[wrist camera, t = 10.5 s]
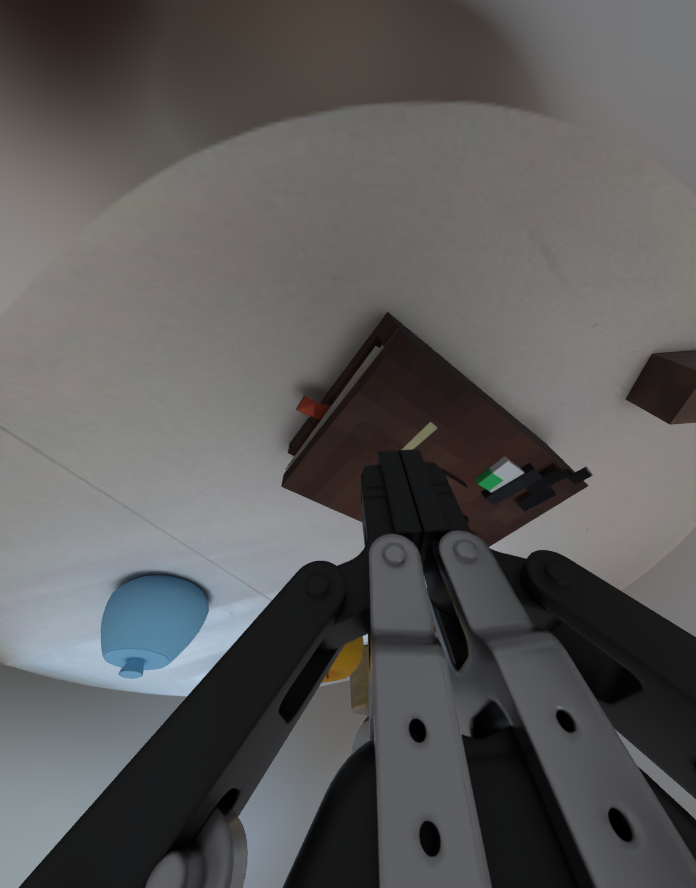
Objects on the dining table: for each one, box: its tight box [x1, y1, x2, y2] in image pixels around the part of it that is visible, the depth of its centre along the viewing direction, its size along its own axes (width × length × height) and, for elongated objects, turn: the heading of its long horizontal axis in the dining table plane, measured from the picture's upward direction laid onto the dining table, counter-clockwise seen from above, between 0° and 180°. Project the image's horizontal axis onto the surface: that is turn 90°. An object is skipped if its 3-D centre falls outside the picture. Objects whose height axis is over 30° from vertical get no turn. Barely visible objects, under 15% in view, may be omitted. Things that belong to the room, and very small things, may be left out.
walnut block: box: [626, 351, 696, 424], centre depth 27 cm, size 5×5×5 cm
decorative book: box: [281, 313, 593, 547], centre depth 30 cm, size 19×8×30 cm
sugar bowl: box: [101, 575, 209, 678], centre depth 45 cm, size 15×15×12 cm
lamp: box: [350, 645, 369, 755], centre depth 63 cm, size 15×14×25 cm
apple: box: [321, 637, 364, 683], centre depth 51 cm, size 13×13×11 cm
